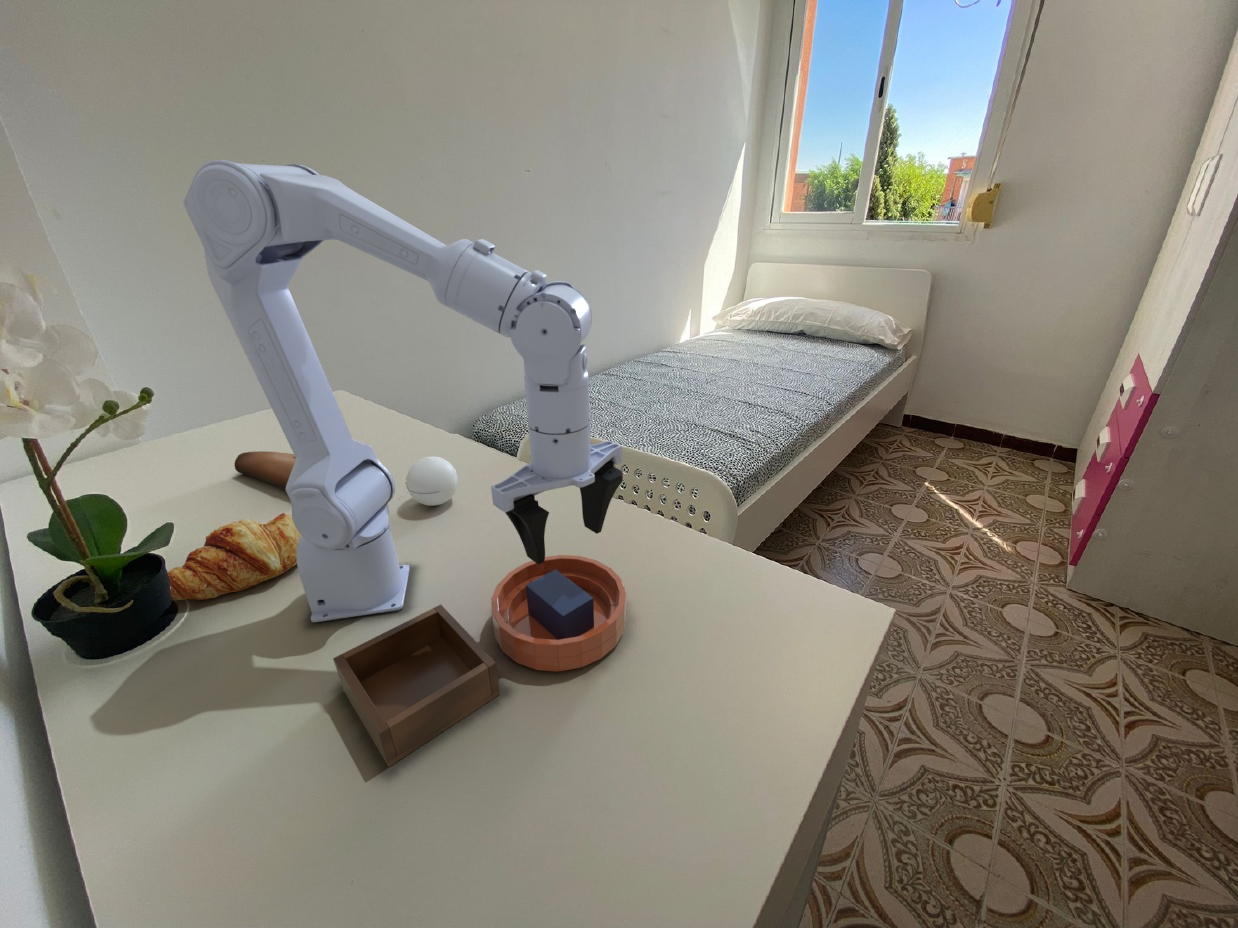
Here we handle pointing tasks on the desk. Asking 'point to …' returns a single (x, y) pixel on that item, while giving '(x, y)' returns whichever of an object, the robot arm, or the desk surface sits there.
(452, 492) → the white sphere
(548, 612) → the dark blue block
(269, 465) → the sunglasses case
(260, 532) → the croissant
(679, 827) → the desk surface
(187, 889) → the desk surface
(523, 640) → the bowl
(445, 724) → the box
